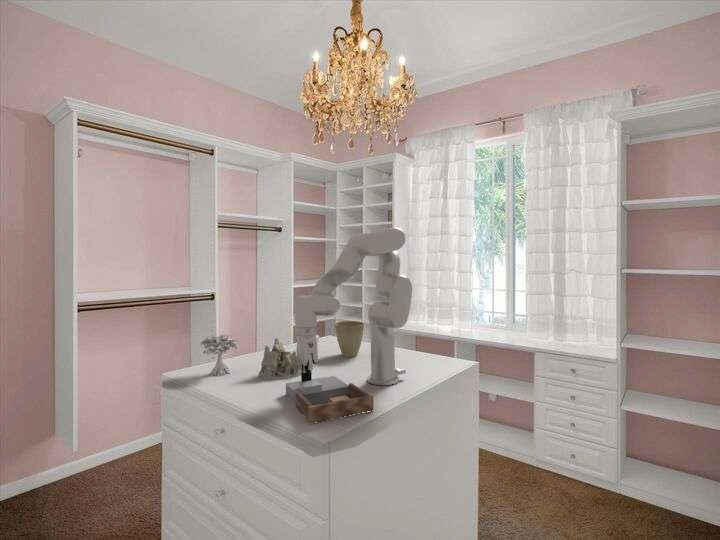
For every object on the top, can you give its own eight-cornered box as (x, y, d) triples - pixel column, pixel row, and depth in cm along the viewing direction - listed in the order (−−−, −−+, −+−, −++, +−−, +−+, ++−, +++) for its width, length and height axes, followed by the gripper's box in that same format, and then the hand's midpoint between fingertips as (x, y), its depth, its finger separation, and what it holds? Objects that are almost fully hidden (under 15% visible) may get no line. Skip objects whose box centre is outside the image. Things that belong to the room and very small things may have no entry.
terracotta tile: (353, 401, 134) (353, 408, 134) (345, 395, 139) (345, 402, 139) (336, 404, 131) (336, 411, 131) (329, 398, 136) (329, 405, 136)
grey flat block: (334, 386, 156) (334, 375, 155) (350, 397, 143) (350, 386, 143) (285, 394, 147) (285, 383, 147) (297, 407, 135) (297, 395, 134)
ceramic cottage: (252, 376, 168) (254, 340, 168) (280, 368, 182) (282, 335, 182) (280, 385, 160) (282, 347, 160) (307, 376, 174) (309, 341, 173)
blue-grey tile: (315, 386, 143) (315, 379, 142) (321, 391, 137) (321, 384, 137) (299, 389, 140) (299, 382, 140) (304, 394, 135) (304, 387, 134)
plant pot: (330, 353, 207) (330, 322, 207) (357, 350, 213) (356, 320, 213) (341, 360, 194) (341, 326, 193) (369, 356, 200) (369, 324, 199)
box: (353, 397, 144) (353, 382, 143) (373, 411, 130) (373, 395, 130) (294, 407, 134) (294, 392, 134) (309, 424, 121) (309, 407, 120)
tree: (214, 381, 162) (213, 340, 162) (189, 375, 171) (188, 336, 170) (249, 370, 177) (248, 333, 177) (224, 365, 186) (224, 329, 185)
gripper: (323, 333, 137) (324, 388, 138) (309, 327, 150) (309, 376, 151) (302, 336, 134) (302, 391, 134) (289, 328, 147) (290, 379, 148)
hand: (306, 383), depth 143 cm, fingers closed
